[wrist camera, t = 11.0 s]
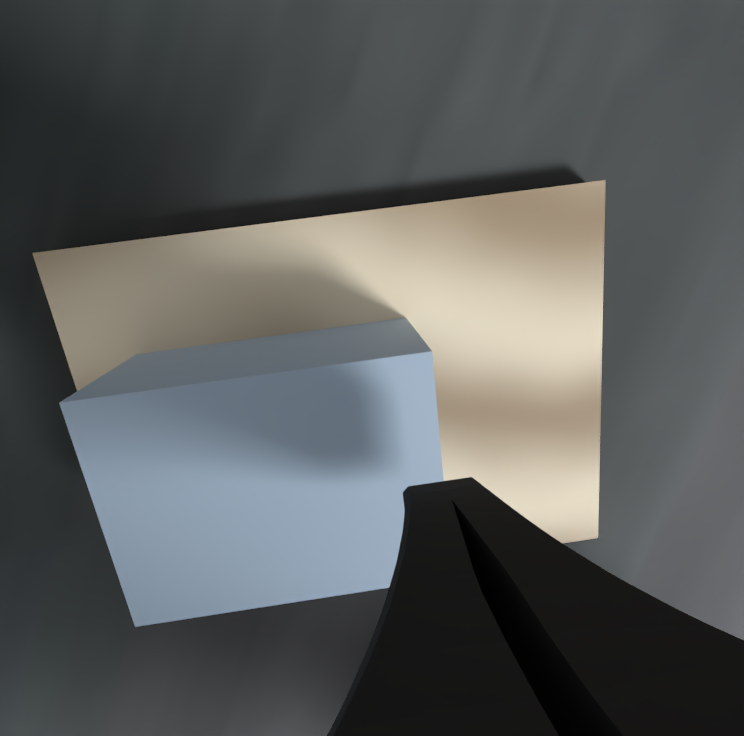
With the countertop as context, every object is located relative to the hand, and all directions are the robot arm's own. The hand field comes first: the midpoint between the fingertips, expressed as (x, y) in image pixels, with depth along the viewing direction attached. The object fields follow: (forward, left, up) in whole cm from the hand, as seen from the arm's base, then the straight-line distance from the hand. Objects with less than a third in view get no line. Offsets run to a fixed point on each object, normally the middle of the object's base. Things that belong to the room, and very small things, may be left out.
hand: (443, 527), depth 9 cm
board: (0, +1, -7) cm, 7 cm away
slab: (0, 0, -4) cm, 4 cm away
